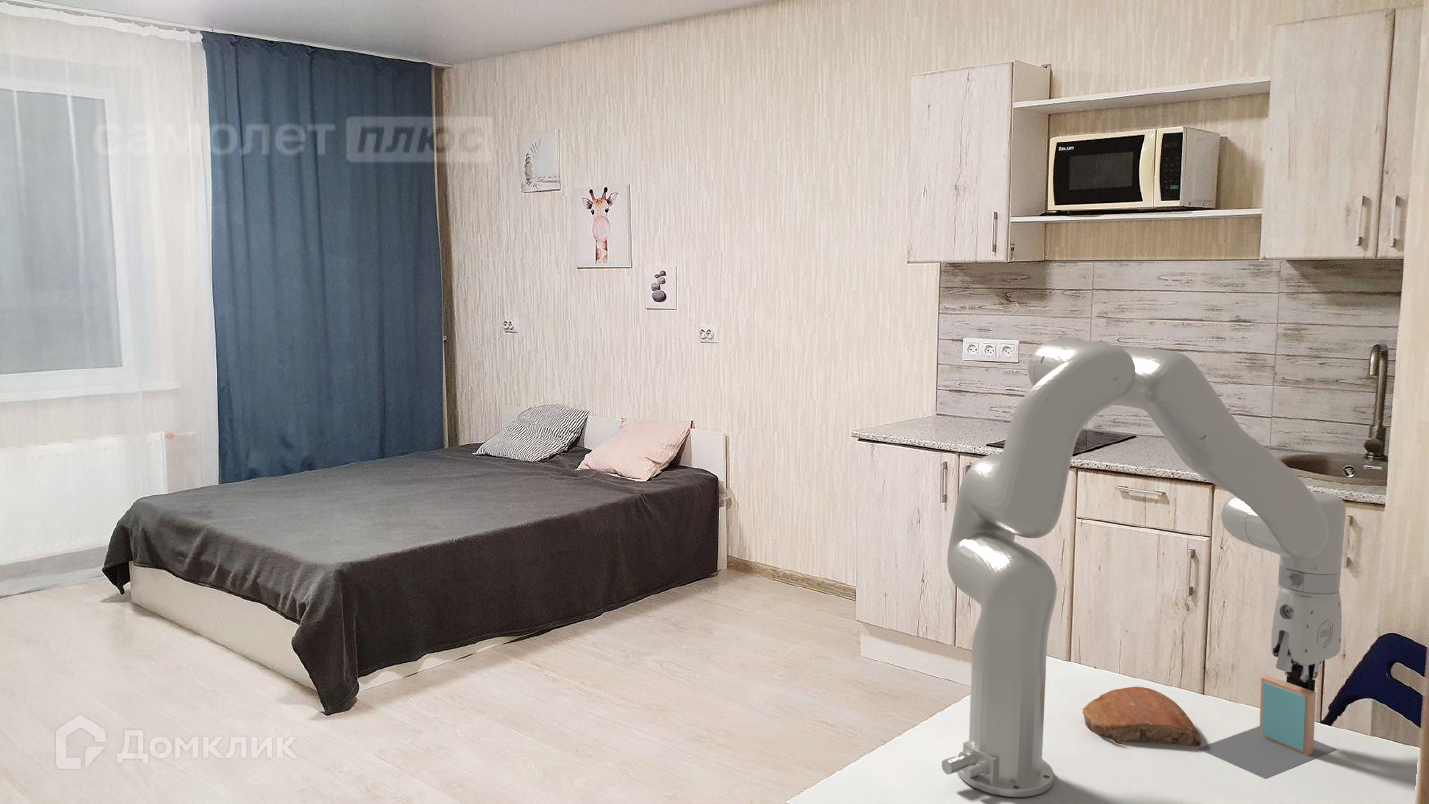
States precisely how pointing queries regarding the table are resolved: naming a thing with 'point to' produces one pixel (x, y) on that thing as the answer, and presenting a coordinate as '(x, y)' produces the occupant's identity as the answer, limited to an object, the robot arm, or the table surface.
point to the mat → (1261, 753)
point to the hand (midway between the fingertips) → (1299, 703)
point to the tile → (1287, 714)
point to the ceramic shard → (1140, 718)
